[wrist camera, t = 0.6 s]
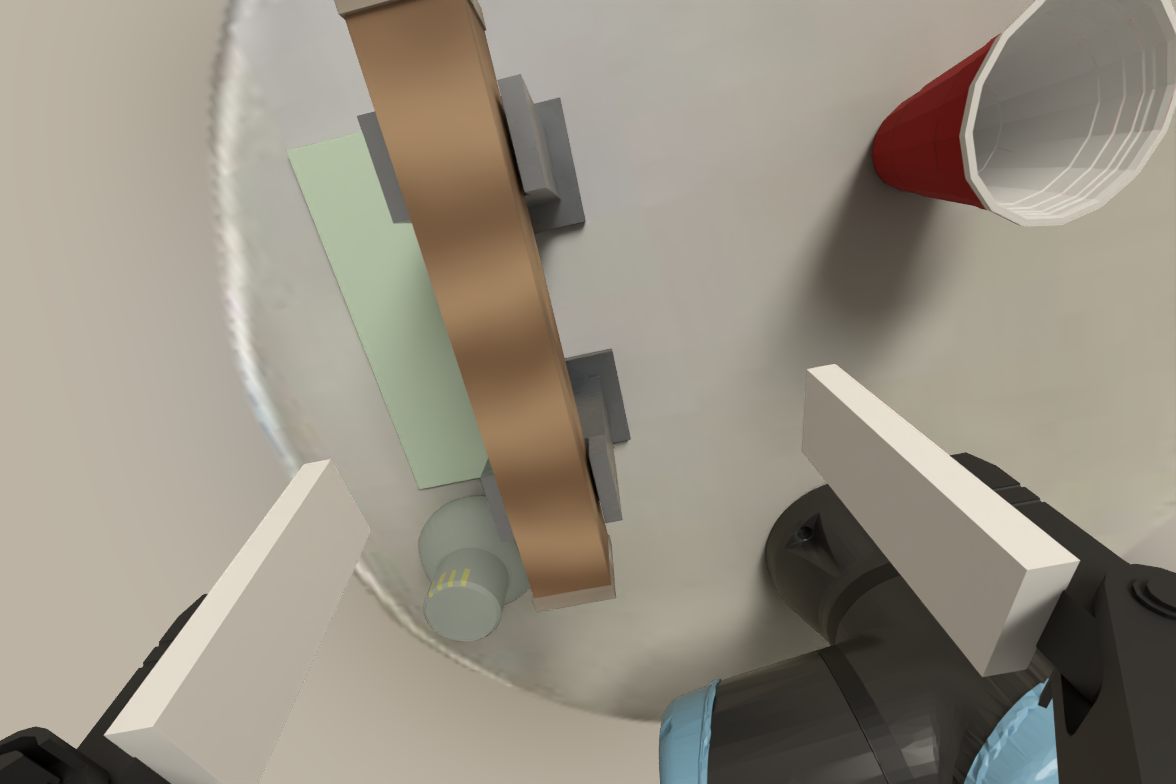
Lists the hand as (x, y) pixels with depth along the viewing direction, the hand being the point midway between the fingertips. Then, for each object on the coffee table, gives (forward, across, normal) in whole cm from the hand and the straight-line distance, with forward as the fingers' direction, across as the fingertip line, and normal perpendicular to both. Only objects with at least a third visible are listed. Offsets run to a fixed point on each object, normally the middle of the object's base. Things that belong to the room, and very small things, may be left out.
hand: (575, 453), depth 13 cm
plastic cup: (+25, -26, -3) cm, 37 cm away
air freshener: (+23, +12, +24) cm, 35 cm away
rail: (+14, +3, +1) cm, 14 cm away
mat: (+26, +12, +4) cm, 29 cm away
